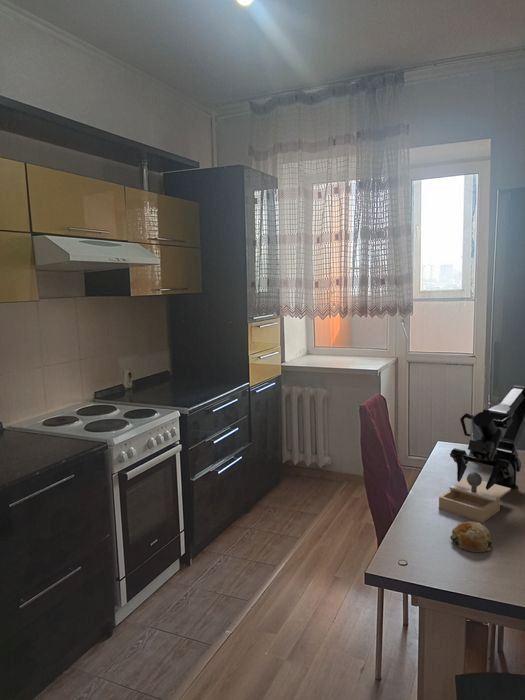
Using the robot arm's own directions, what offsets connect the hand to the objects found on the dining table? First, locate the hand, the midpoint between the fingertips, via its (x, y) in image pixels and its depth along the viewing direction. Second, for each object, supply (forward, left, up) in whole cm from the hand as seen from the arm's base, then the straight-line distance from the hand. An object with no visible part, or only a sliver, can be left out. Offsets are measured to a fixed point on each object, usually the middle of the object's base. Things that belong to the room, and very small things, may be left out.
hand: (472, 485), depth 163 cm
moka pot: (-23, -43, -8) cm, 50 cm away
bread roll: (+10, +21, -8) cm, 25 cm away
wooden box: (+1, +1, -8) cm, 8 cm away
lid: (-4, -4, -3) cm, 7 cm away
